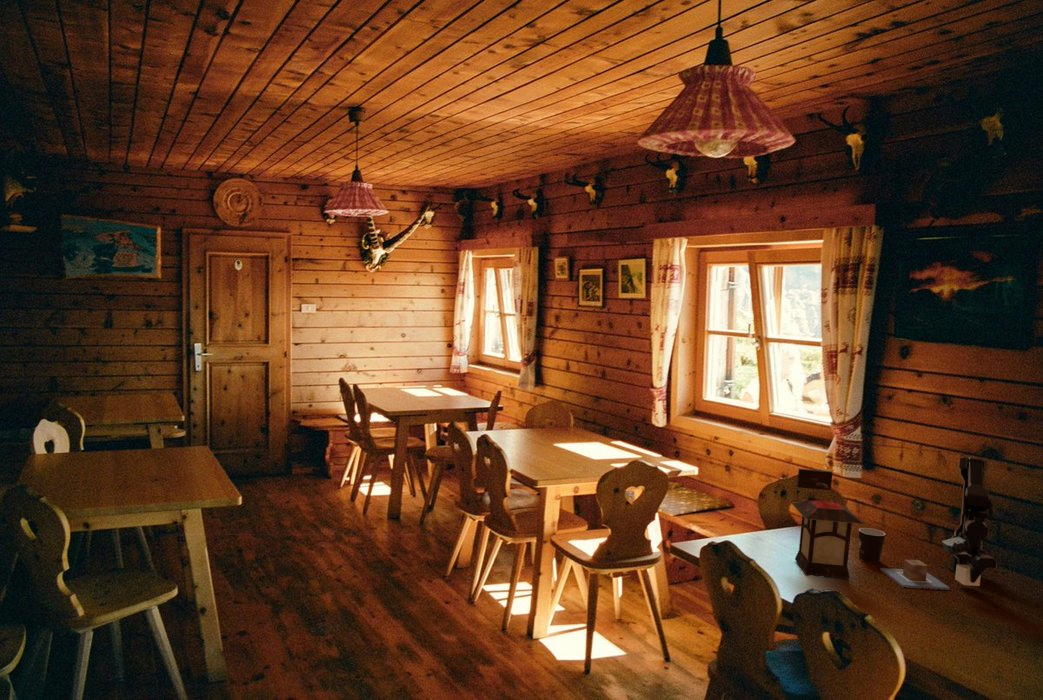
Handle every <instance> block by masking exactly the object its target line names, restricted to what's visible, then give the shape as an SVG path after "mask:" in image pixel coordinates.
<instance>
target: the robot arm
mask: <svg viewBox="0 0 1043 700" xmlns="http://www.w3.org/2000/svg"><path fill="white" fill-rule="evenodd" d="M957 461H958V462H957V469H958V470H959V474H958V475H959V477H960V478H961V480H962V482H963V487H962V488H963V489H962V499H961V500H962V501H961V503H962V504H961V510H960V511H961V512H960V524H959V526H958V527H957V528H956V529H955V530H954V535H952V536H951V537H950V538H949V539H944V540H942V542H941V543H942V546H943V551H944V552H946V553H948V554H949V555H950V561H949V565H948V566H947V568H948V569H950V570H951V571H953V572H954V573H956V566H957V564H962V565H970V581H971V582H972V583H974V582H975V581H976V580H977V579H978V577H979V576H980V575H981V576H982V574H983V572H985V570H986V569H987V568H990V569H991V568H993V569H997V567H998V560H997V559H996V558H994V557H993V556H991V555H989V554H985V549H983V541H984V542H986V541H987V536H988V535H989V530H988V528H987V524H986V519H988V520H991V519H992V517H993V514H994V512H993V511H994V509H993V507H994V505H993V501H992V499H991V498H990V496H989V491H988V490H987V489H986V488H985V487H984V475H985V473H987V472H988V465H989V464H988V461H986V460H984V459H983V458H979V457H972V456H963V455H962V457H959V458H958V460H957Z"/></svg>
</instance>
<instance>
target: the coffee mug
mask: <svg viewBox="0 0 1043 700" xmlns="http://www.w3.org/2000/svg"><path fill="white" fill-rule="evenodd" d="M885 539H886V532H884V531H882V530H879V529H876V528H871V527H870V528H869V527H862V528H861V527H860V528H859V529H858V558H860V559H862V560H864V561H863V562H865V561H867V562H866V563H869V562H876V563H875V564H877V562H879V563H880V560H881V555H882V551H883V549H884V548H883V547H884V543H885ZM860 559H859V560H860ZM862 560H861V561H862Z"/></svg>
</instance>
